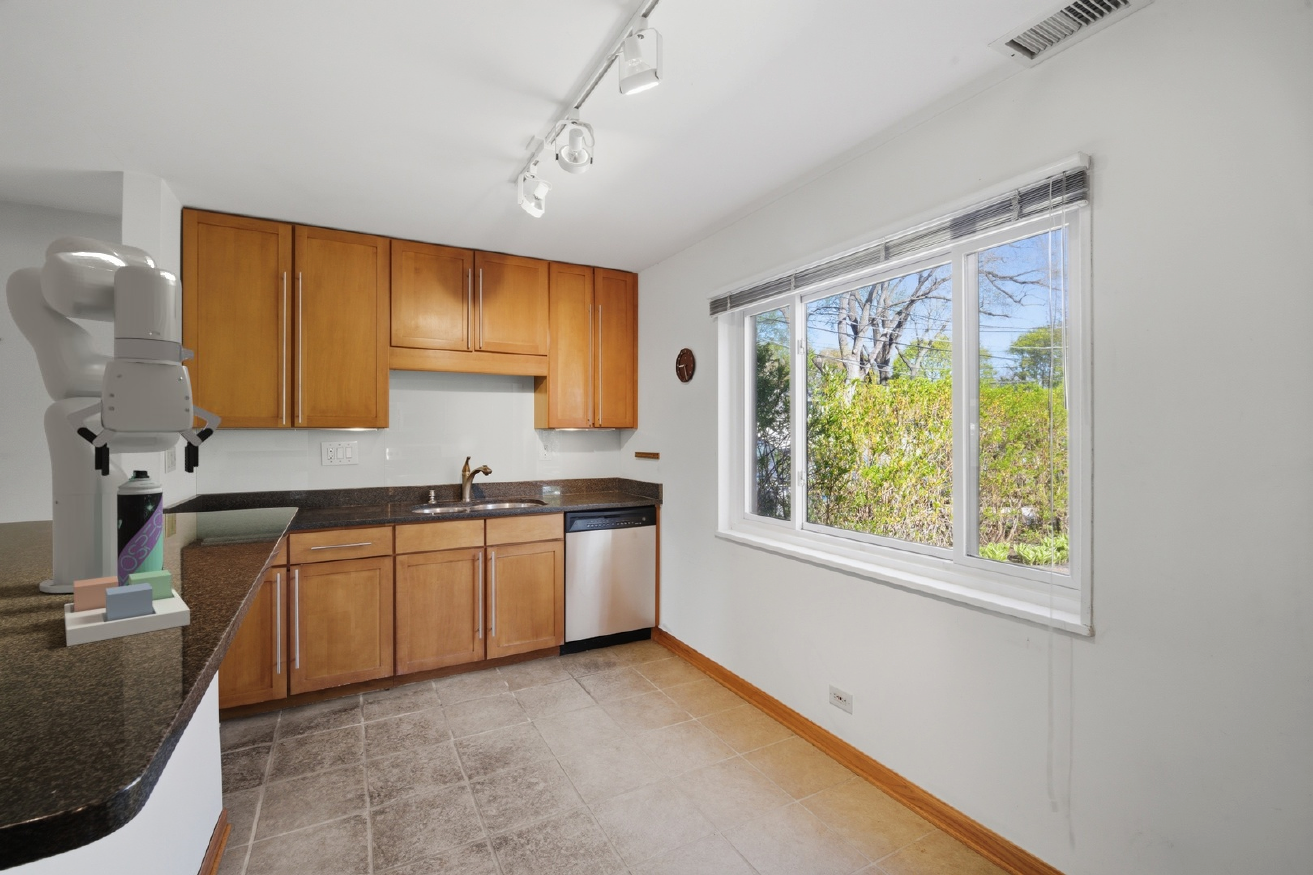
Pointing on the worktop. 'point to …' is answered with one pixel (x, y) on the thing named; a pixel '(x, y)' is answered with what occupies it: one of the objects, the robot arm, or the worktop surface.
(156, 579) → the sage key
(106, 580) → the terracotta key
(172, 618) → the key console
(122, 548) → the spray can
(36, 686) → the worktop surface
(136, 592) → the slate key
